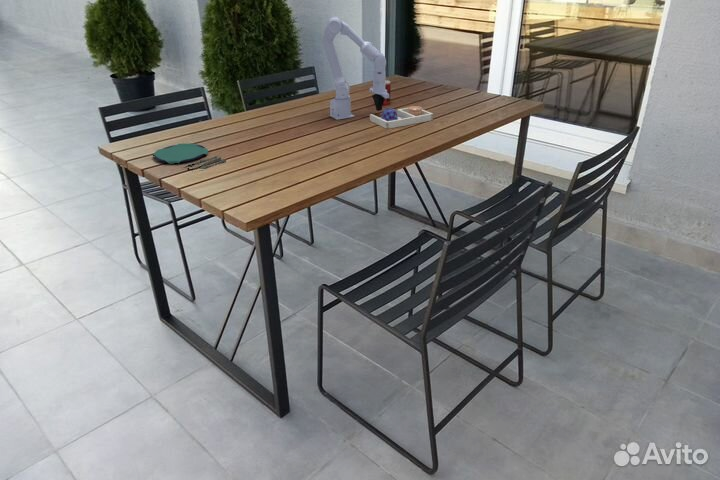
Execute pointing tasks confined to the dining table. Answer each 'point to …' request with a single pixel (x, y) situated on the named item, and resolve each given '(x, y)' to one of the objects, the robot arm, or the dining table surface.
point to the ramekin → (415, 110)
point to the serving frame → (406, 119)
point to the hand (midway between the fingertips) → (378, 110)
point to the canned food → (388, 88)
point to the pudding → (389, 115)
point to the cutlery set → (184, 154)
